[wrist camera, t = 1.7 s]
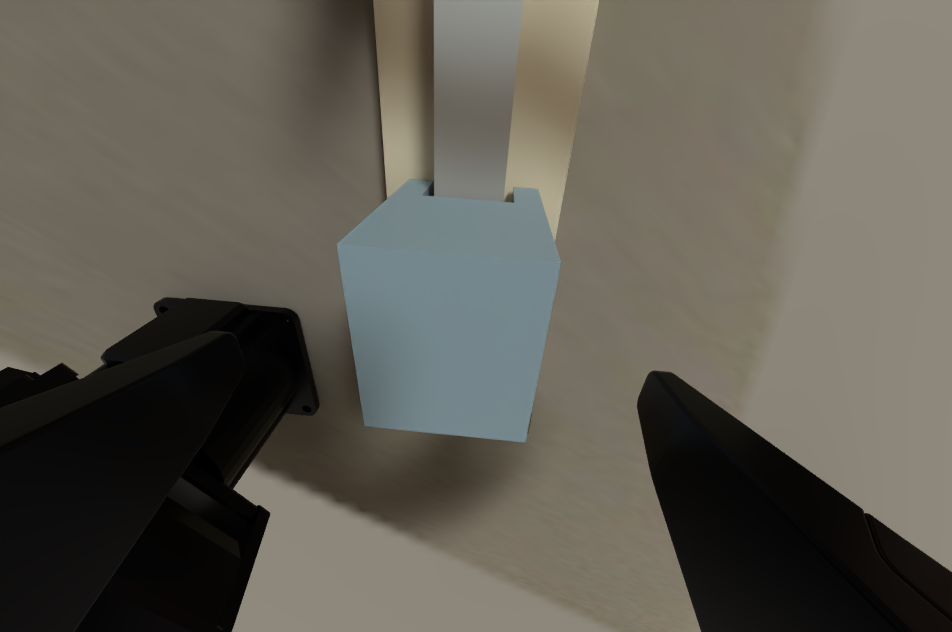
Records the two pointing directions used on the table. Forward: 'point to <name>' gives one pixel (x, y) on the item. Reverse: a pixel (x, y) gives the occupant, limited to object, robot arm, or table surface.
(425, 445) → the table surface
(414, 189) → the light blue block
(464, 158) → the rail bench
